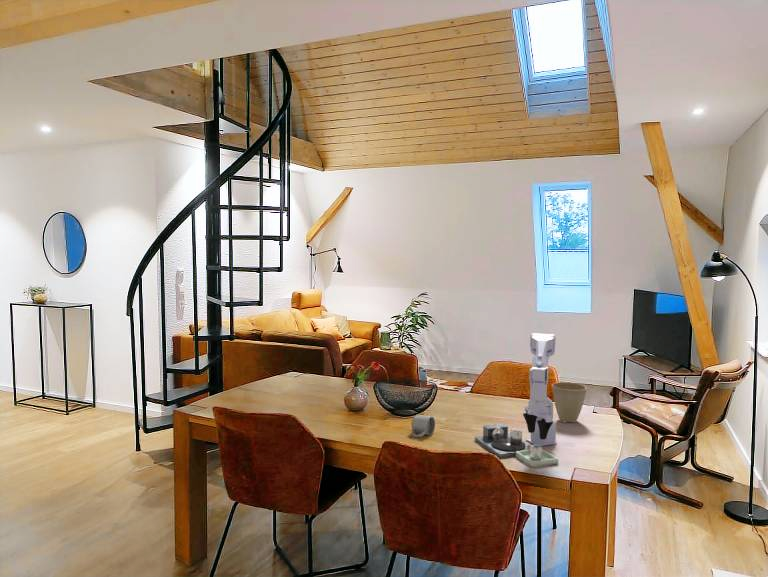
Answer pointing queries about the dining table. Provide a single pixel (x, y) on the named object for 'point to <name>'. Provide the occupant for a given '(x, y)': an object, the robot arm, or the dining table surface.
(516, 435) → the spacer
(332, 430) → the dining table surface
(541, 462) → the tray
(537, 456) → the cylinder
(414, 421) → the ceramic mug
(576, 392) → the plant pot
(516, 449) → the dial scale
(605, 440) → the dining table surface
